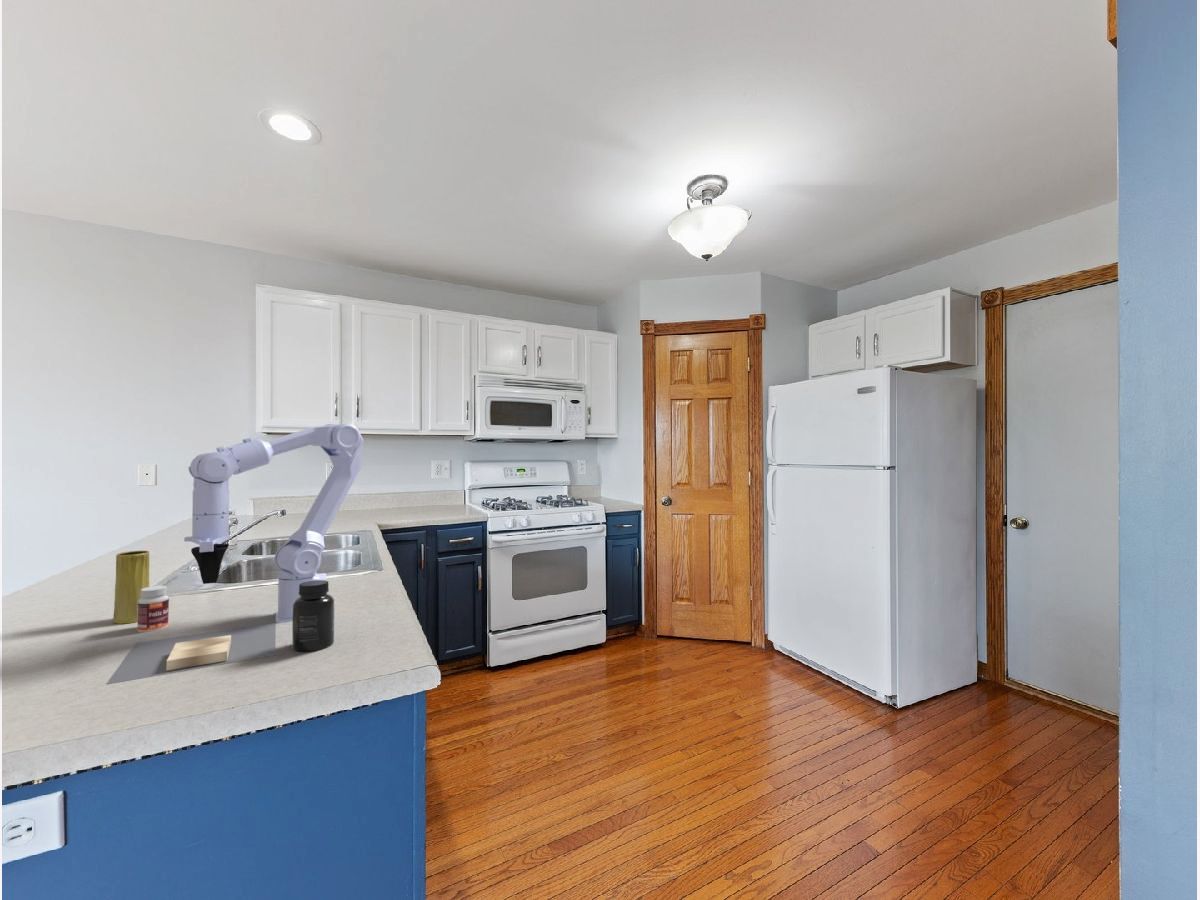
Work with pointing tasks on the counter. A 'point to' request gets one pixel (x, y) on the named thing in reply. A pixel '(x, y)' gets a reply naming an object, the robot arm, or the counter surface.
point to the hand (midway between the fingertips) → (210, 582)
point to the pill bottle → (153, 609)
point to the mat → (154, 653)
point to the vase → (130, 584)
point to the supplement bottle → (313, 617)
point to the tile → (199, 652)
